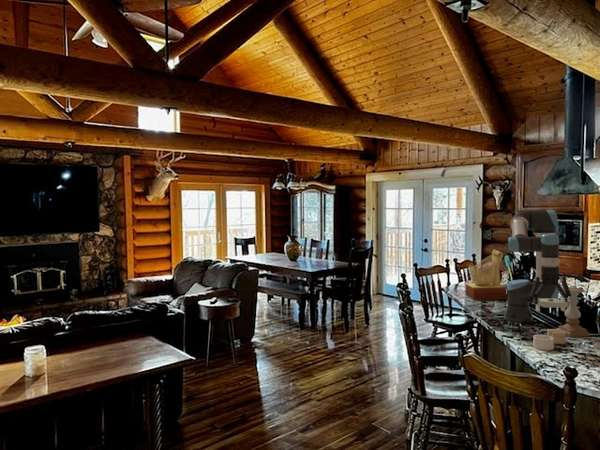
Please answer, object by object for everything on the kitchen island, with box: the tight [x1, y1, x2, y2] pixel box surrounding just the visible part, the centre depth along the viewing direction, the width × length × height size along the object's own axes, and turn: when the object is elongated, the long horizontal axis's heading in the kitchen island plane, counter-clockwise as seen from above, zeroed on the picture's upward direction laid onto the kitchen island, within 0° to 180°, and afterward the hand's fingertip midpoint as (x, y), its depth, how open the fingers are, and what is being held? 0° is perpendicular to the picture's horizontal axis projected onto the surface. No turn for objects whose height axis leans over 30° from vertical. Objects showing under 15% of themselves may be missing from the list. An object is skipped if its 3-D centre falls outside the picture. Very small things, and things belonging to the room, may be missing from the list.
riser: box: [546, 328, 567, 345], centre depth 221 cm, size 6×6×6 cm
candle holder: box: [556, 286, 591, 338], centre depth 233 cm, size 11×11×24 cm
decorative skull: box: [480, 261, 503, 284], centre depth 363 cm, size 18×26×20 cm, turn 171°
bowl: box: [532, 334, 555, 351], centre depth 213 cm, size 8×8×5 cm
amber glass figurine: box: [465, 248, 507, 301], centre depth 325 cm, size 25×18×35 cm
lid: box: [540, 298, 569, 308], centre depth 216 cm, size 11×11×3 cm
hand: (550, 310), depth 216 cm, fingers closed on lid, 11 cm apart
